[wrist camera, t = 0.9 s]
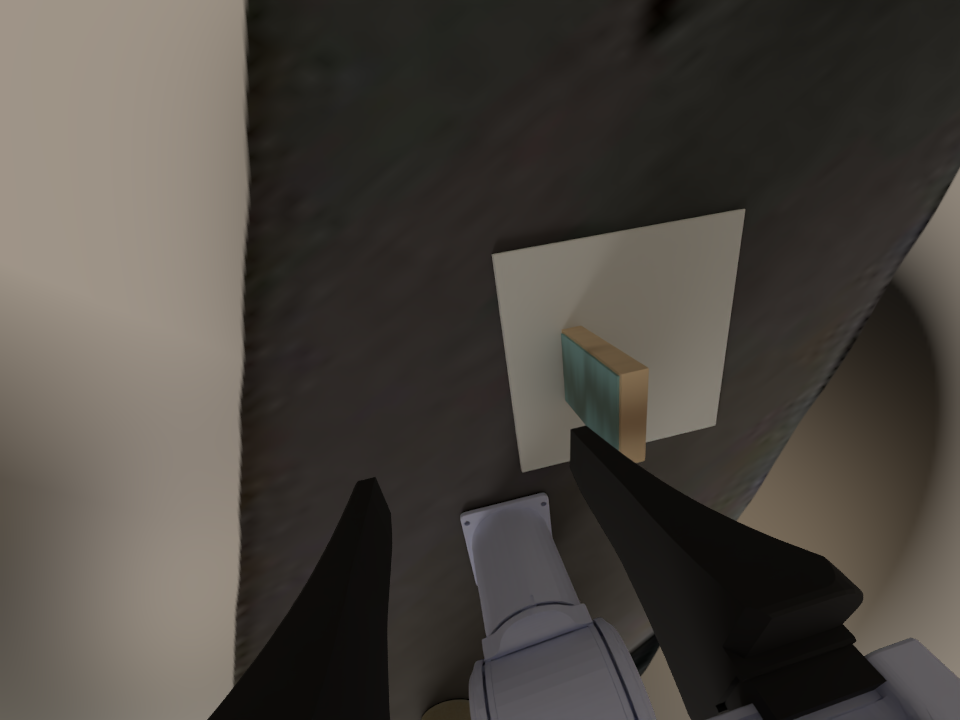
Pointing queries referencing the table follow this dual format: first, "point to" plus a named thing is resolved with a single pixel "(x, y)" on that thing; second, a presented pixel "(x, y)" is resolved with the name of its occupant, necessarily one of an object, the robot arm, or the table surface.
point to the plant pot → (449, 711)
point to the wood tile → (606, 390)
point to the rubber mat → (620, 322)
